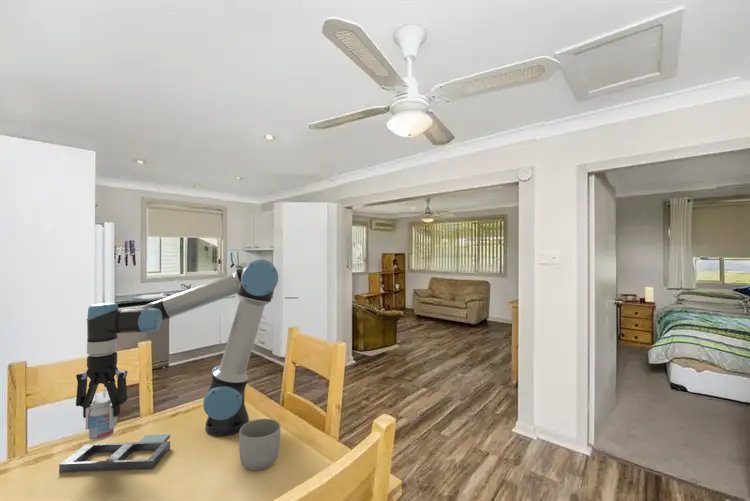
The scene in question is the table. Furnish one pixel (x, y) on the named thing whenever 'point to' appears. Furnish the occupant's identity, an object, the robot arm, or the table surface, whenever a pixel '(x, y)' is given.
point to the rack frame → (114, 457)
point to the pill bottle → (100, 420)
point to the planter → (259, 443)
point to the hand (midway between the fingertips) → (101, 426)
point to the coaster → (155, 438)
